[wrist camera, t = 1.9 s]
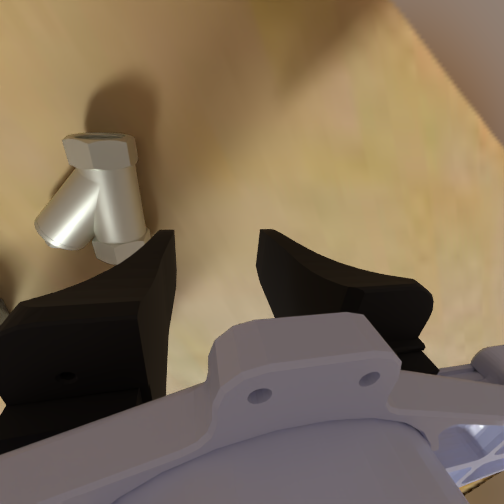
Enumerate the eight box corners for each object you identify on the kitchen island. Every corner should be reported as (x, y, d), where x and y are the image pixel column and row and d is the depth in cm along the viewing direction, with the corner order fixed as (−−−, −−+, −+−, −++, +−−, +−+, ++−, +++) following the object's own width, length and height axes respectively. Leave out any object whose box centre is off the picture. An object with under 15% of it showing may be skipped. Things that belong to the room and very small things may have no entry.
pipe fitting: (65, 240, 20) (154, 239, 21) (36, 269, 17) (144, 266, 18) (25, 128, 16) (138, 133, 17) (-22, 137, 13) (120, 142, 14)
